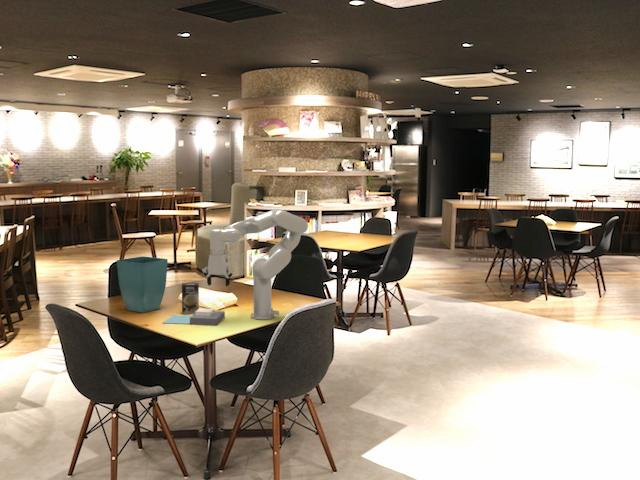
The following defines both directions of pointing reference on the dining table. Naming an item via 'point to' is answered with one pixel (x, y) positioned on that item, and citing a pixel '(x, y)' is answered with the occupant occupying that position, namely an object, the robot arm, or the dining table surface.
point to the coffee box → (190, 298)
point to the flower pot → (142, 282)
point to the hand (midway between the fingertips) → (218, 285)
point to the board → (208, 319)
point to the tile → (204, 312)
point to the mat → (178, 319)
